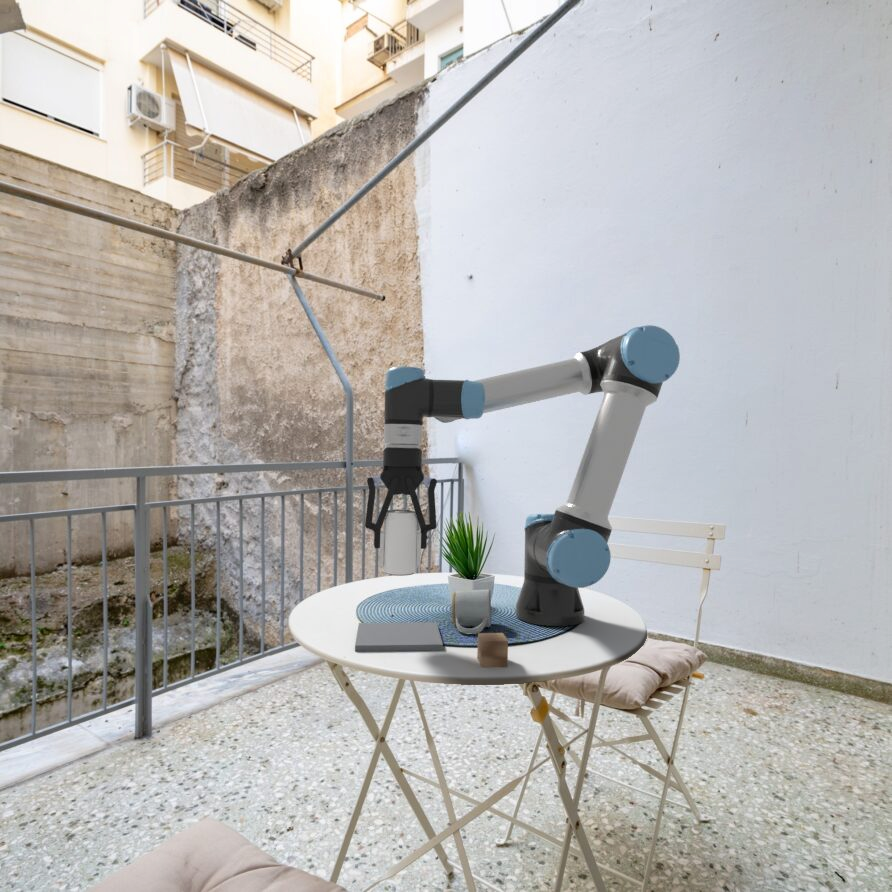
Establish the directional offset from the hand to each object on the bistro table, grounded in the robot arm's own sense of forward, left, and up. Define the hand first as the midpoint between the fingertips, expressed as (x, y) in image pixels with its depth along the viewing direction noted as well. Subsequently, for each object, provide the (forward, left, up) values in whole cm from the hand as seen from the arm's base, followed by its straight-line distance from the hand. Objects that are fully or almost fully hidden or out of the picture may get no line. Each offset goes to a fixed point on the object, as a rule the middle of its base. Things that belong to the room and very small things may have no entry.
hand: (399, 565), depth 114 cm
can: (0, 0, -2) cm, 2 cm away
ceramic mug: (-16, -7, -15) cm, 22 cm away
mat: (0, 0, -14) cm, 14 cm away
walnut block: (-16, +13, -14) cm, 25 cm away
